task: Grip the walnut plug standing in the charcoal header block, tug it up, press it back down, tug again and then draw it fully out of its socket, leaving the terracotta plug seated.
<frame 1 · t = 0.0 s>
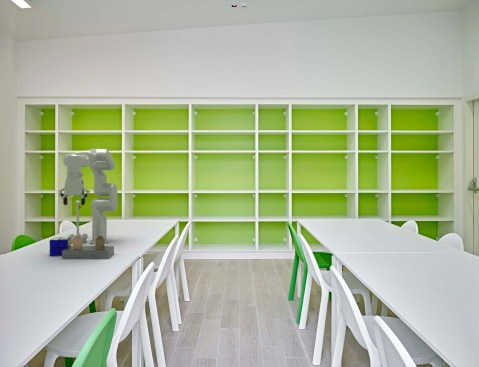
hand: (74, 205, 205), 31 cm above the table, tool pointing down, fingers open, 9 cm apart
walnut plug: (100, 245, 211), point 7 cm above the table, slide at 0.0 cm
terracotta plug: (77, 245, 210), point 7 cm above the table, slide at 0.0 cm
header block: (88, 256, 210), on the table
puzzle cube: (60, 254, 215), on the table
flag stand: (77, 242, 250), on the table
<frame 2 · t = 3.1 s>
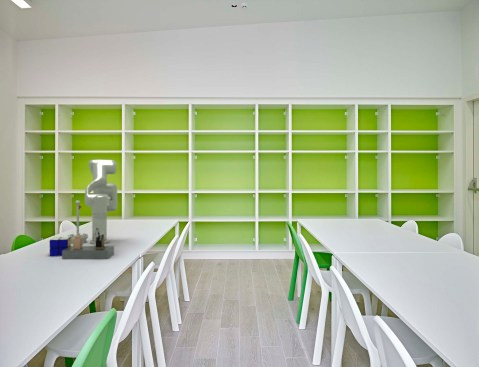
hand: (100, 246, 211), 6 cm above the table, tool pointing down, fingers closed on walnut plug, 4 cm apart
walnut plug: (100, 245, 211), point 7 cm above the table, slide at 0.0 cm, touching gripper
everything else where it was.
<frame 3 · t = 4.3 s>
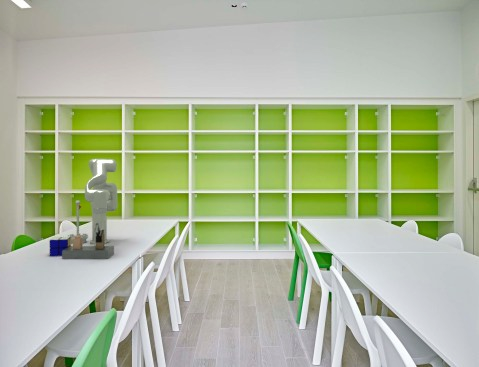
hand: (100, 241, 211), 9 cm above the table, tool pointing down, fingers closed on walnut plug, 4 cm apart
walnut plug: (100, 240, 211), point 10 cm above the table, slide at 2.9 cm, touching gripper
everything else where it was.
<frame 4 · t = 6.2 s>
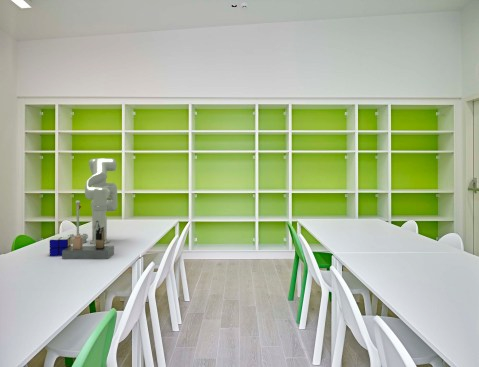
hand: (100, 238, 210), 11 cm above the table, tool pointing down, fingers closed on walnut plug, 4 cm apart
walnut plug: (100, 238, 210), point 11 cm above the table, slide at 4.4 cm, touching gripper
everything else where it was.
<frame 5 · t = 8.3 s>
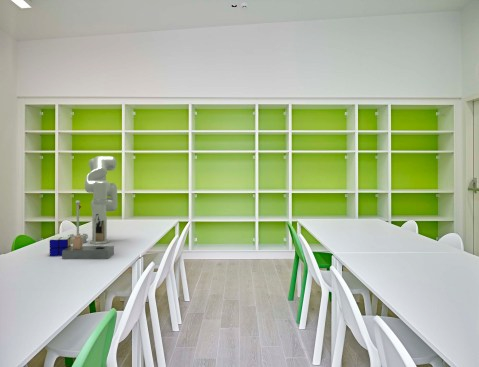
hand: (100, 232, 210), 15 cm above the table, tool pointing down, fingers closed on walnut plug, 4 cm apart
walnut plug: (100, 231, 210), point 15 cm above the table, slide at 8.4 cm, touching gripper
everything else where it was.
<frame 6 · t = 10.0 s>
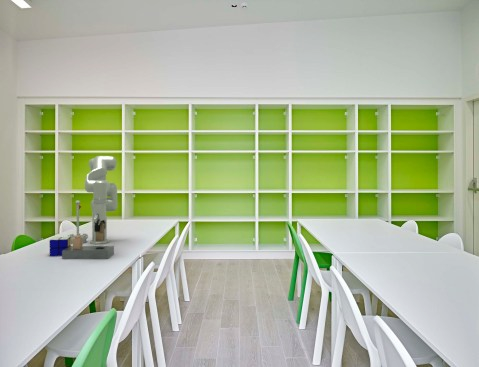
hand: (100, 230, 210), 16 cm above the table, tool pointing down, fingers open, 9 cm apart
walnut plug: (100, 231, 210), point 15 cm above the table, slide at 8.4 cm
everything else where it was.
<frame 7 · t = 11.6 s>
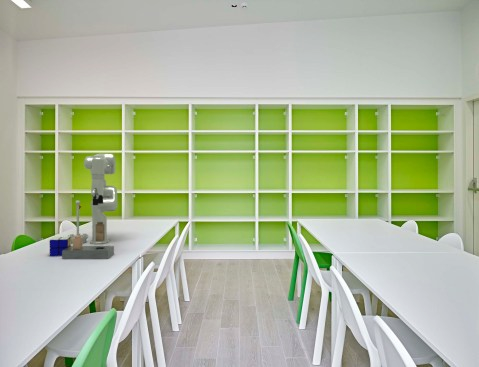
hand: (98, 204, 222), 30 cm above the table, tool pointing down, fingers open, 9 cm apart
nothing on the table moved.
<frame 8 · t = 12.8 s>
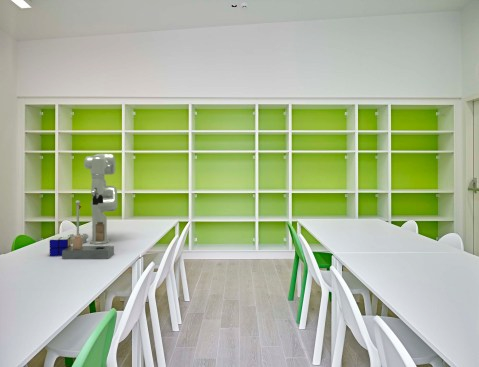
hand: (97, 203, 222), 30 cm above the table, tool pointing down, fingers open, 9 cm apart
nothing on the table moved.
at the end: walnut plug slide at 8.4 cm; the gripper is holding nothing; terracotta plug slide at 0.0 cm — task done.
